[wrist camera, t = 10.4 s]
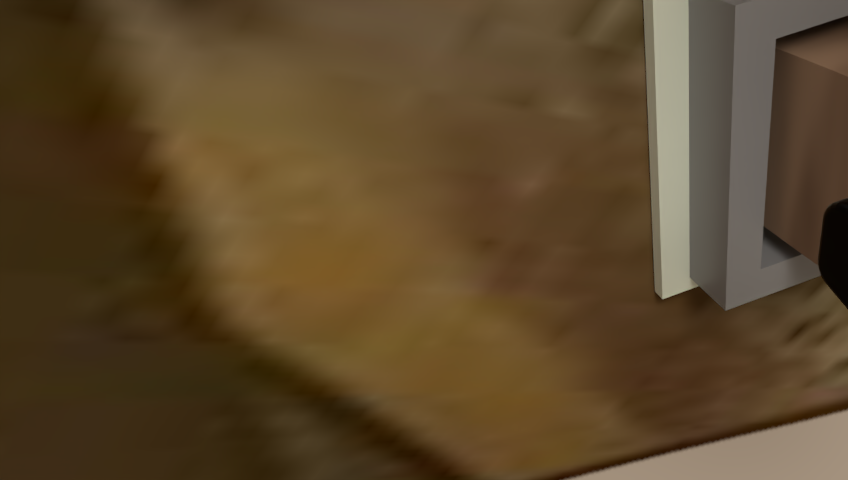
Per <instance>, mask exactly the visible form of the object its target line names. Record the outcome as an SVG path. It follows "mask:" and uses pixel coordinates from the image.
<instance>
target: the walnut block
mask: <svg viewBox="0 0 848 480" xmlns="http://www.w3.org/2000/svg"><path fill="white" fill-rule="evenodd" d="M845 198H848V16H845V17H842V18H839V19H835V20H832V21H829V22H826V23H823V24H820V25H817V26H814V27H811V28H808V29H805V30H802V31H799V32H796V33H792V34H789V35H786V36H783V37H780V38H777V39H776V46H775V61H774V76H773V91H772V106H771V121H770V136H769V151H768V166H767V181H766V196H765V211H764V227H765V228H767V229H768V230H770V231H771V232H772V233H774V234H775V235H776V236H778V237H779V238H781V239H782V240H783V241H785V242H786V243H787V244H789V245H790V246H792V247H793V248H794V249H796V250H797V251H799V252H800V253H801V254H803V255H804V256H805V257H807V258H808V259H810V260H811V261H812V262H814V263H815V264H816V265H818V253H819V245H820V237H821V229H822V220H823V215H824V212H825V210H826V209H827V207H828V206H829V205H830V204H832V203H834V202H837V201H839V200H842V199H845Z"/></svg>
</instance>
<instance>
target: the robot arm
mask: <svg viewBox="0 0 848 480" xmlns="http://www.w3.org/2000/svg"><path fill="white" fill-rule="evenodd" d="M818 268H819V271H820V274H821V276H822V278H823V279H824V281H825V282H826V284H827V285H828V286H829V287H830V289H831V290H832V291H833V292H834V293H835V295H836V296H837V297H838V298H839V299H840V300H841V302H842V303H843V304H844V305H845V306H846V308H847V309H848V198H845V199H842V200H839V201H837V202H834V203H832V204H830V205H829V206H828V207H827V209H826V210H825V212H824V215H823V220H822V229H821V237H820V245H819V253H818Z"/></svg>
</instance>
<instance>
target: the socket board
mask: <svg viewBox="0 0 848 480" xmlns="http://www.w3.org/2000/svg"><path fill="white" fill-rule="evenodd" d="M643 8H644V33H645V58H646V83H647V108H648V133H649V158H650V183H651V208H652V234H653V259H654V284H655V292H656V293H657V294H658V295H659V296H660V297H661V298H662V299H665V298H668V297H670V296H673V295H676V294H679V293H681V292H684V291H687V290H690V289H692V288H695V287H698V286H700V287H701V288H702V289H703V290H704V291H705V292H706V293H707V294H708V295H709V296H710V297H711V298H712V299H713V300H714V301H716V302H717V303H718V304H719V305H720V306H721V307H722V308H723V309H724V310H725V311H726V310H729V309H732V308H734V307H737V306H740V305H743V304H745V303H748V302H751V301H753V300H756V299H759V298H761V297H764V296H767V295H770V294H772V293H775V292H778V291H780V290H783V289H786V288H789V287H791V286H794V285H797V284H799V283H802V282H805V281H808V280H810V279H813V278H816V277H818V276H821V274H820V271H819V268H818V265H816V264H815V263H814V262H812V261H811V260H810V259H808V258H807V257H805V256H804V255H803V254H801V253H800V252H799V251H797V250H796V249H794V248H793V247H792V246H790V245H789V244H787V243H786V242H785V241H783V240H782V239H781V238H779V237H778V236H776V235H775V234H774V233H772V232H771V231H770V230H768V229H767V228H765V227H764V211H765V196H766V181H767V166H768V151H769V136H770V121H771V106H772V91H773V76H774V61H775V46H776V39H777V38H780V37H783V36H786V35H789V34H792V33H796V32H799V31H802V30H805V29H808V28H811V27H814V26H817V25H820V24H823V23H826V22H829V21H832V20H835V19H839V18H842V17H845V16H848V0H643Z"/></svg>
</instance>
